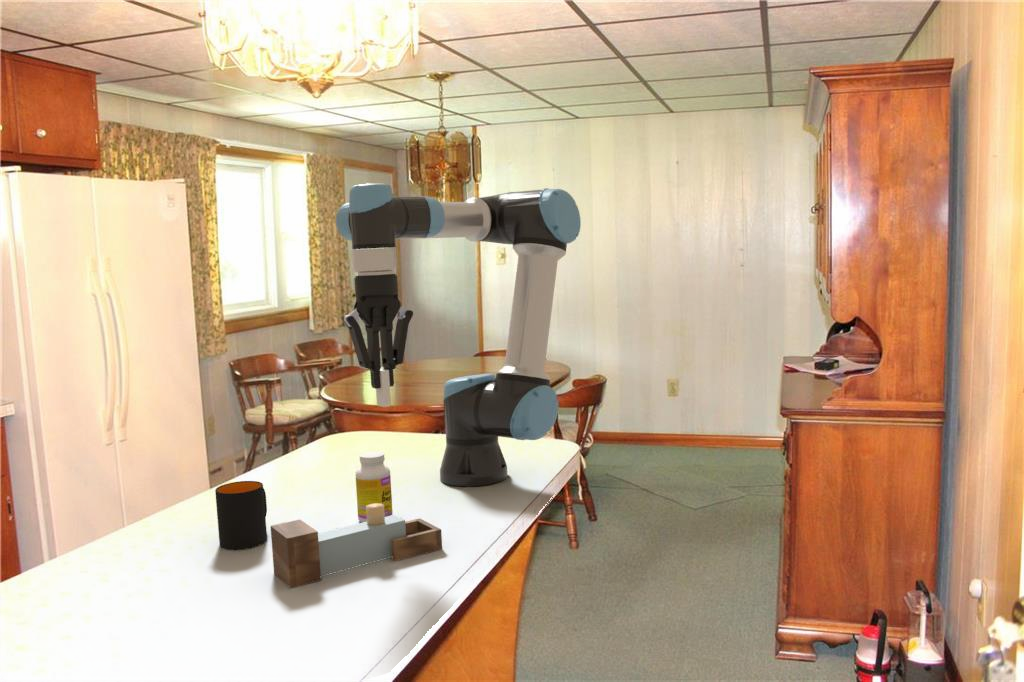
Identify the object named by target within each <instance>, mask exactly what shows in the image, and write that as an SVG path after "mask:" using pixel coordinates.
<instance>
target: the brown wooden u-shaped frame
mask: <svg viewBox="0 0 1024 682" xmlns="http://www.w3.org/2000/svg"><path fill="white" fill-rule="evenodd" d="M405 528H406V536H403V537H399V538H395V539H391V543H392V557H391V558H392V560H393V561H394V562H398V561H402V560H404V559H410V558H412V557H416V556H420V555H425V554H428V553H433V552H436V551H440V550H443V538H442V537H443V536H442V535H443V534H442V529H441V528H439V527H437V526H435V525H434V524H432V523H429V522H427V521H426V520H424V519H422V518H420V517H419V518H416V519H415V518H414V519H410V520H405ZM401 559H402V560H401ZM397 560H398V561H397Z"/></svg>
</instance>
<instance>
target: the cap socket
mask: <svg viewBox="0 0 1024 682" xmlns="http://www.w3.org/2000/svg"><path fill="white" fill-rule="evenodd" d="M318 533H319V531H318V530H316V529H314V527H312V526H310V525H309V524H307V523H306V522H304V521H303V520H302V519H296V520H291V521H287V522H283V523H278V524H272V525H270V537H271V548H272V549H271V550H272V552H271V553H272V564H273V565H272V566H273V574H274V575H275V576H277V577H278V578H279V579H280V580H281V581H282V582H283V583H284V584H285V585H287V587H289V589H292V588H296V587H300V586H305V585H307V584H312V583H316V582H319V581H322V576H321V571H320V556H319V542H318Z"/></svg>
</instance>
